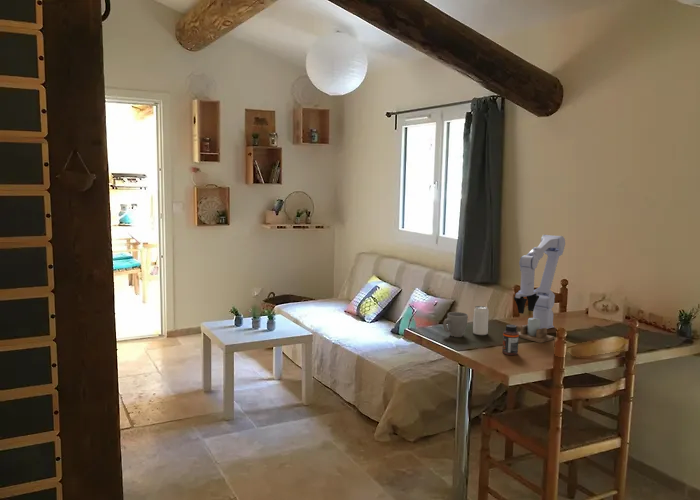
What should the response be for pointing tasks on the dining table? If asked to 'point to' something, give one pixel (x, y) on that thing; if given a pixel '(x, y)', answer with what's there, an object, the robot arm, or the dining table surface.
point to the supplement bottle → (510, 340)
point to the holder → (540, 334)
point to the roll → (533, 326)
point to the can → (480, 320)
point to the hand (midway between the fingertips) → (525, 312)
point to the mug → (456, 323)
